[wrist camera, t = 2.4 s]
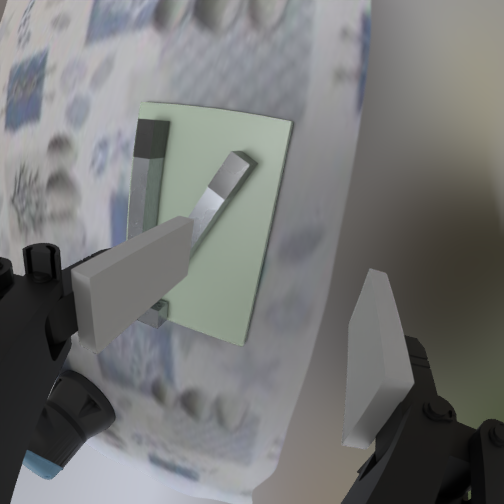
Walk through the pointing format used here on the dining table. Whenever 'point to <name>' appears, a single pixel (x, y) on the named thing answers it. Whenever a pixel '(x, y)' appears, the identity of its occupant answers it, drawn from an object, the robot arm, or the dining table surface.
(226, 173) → the bar
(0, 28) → the dining table surface
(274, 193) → the board
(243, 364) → the dining table surface
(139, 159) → the tongs fixed
